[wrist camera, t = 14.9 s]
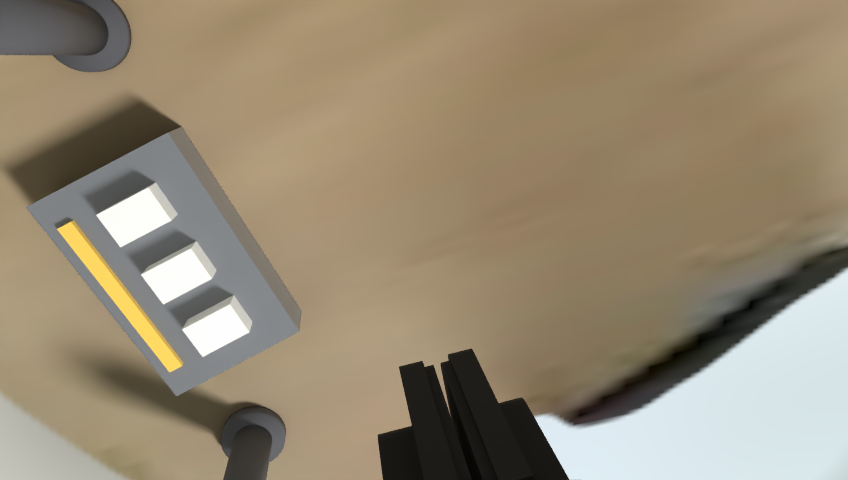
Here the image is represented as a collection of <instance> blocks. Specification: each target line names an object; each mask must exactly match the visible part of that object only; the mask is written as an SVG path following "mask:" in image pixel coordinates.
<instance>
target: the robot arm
mask: <svg viewBox="0 0 848 480" xmlns="http://www.w3.org/2000/svg"><path fill="white" fill-rule="evenodd" d="M448 359H449V361H447V362H443V363H441V370H442V375H443V380H444V385H445V390H446V395H447V400H448V405H449V410H450V413H449V410H448V407H447V404H446V401H445V398H444V395H443V392H442V389H441V386H440V383H439V380H438V377H437V374H436V371H435V368H434V366H433V365H431V366H427V367H424V364H423V361H420V362H416V363H412V364H408V365H404V366H400V367H399V369H400V374H401V378H402V383H403V387H404V392H405V396H406V401H407V405H408V410H409V414H410V419H411V423H412V426H410V427H406V428H402V429H398V430H394V431H391V432H387V433H383V434H379V435H378V443H379V451H380V459H381V467H382V475H383V480H569V478H568V477H567V475H566V473H565V471H564V469H563V468H562V466H561V464H560V463H559V461H558V459H557V457H556V455H555V453H554V452H553V450H552V448H551V446H550V445H549V443H548V441H547V439H546V437H545V436H544V434H543V432H542V430H541V429H540V427H539V425H538V423H537V421H536V420H535V418H534V416H533V414H532V413H531V411H530V409H529V407H528V405H527V404H526V402H525V401H524V399H523V398H517V399H513V400H509V401H506V402H502V403H498V401H497V399H496V397H495V395H494V393H493V391H492V389H491V387H490V385H489V383H488V381H487V379H486V376H485V374H484V372H483V370H482V368H481V366H480V364H479V362H478V360H477V358H476V356H475V354H474V352H473V350H472V349H468V350H464V351H460V352H456V353H452V354H448ZM450 415H451V416H450Z"/></svg>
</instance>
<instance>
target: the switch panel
mask: <svg viewBox="0 0 848 480" xmlns="http://www.w3.org/2000/svg"><path fill="white" fill-rule="evenodd" d="M26 208H27V209H28V211H29V212H30V213H31V214H32V216H33V217H34V218H35V219H36V221H37V222H38V223H39V224H40V226H41V227H42V228H43V229H44V231H45V232H46V233H47V234H48V236H49V237H50V238H51V240H52V241H53V242H54V243H55V245H56V246H57V247H58V248H59V250H60V251H61V252H62V253H63V255H64V256H65V257H66V258H67V260H68V261H69V262H70V263H71V265H72V266H73V267H74V268H75V270H76V271H77V272H78V273H79V275H80V276H81V277H82V278H83V280H84V281H85V282H86V283H87V285H88V286H89V287H90V288H91V290H92V291H93V292H94V294H95V295H96V296H97V297H98V299H99V300H100V301H101V302H102V304H103V305H104V306H105V307H106V309H107V310H108V311H109V312H110V314H111V315H112V316H113V317H114V319H115V320H116V321H117V322H118V324H119V325H120V326H121V327H122V329H123V330H124V331H125V332H126V334H127V335H128V336H129V337H130V339H131V340H132V341H133V342H134V344H135V345H136V346H137V348H138V349H139V350H140V351H141V353H142V354H143V355H144V356H145V358H146V359H147V360H148V361H149V363H150V364H151V365H152V366H153V368H154V369H155V370H156V371H157V373H158V374H159V375H160V376H161V378H162V379H163V380H164V381H165V383H166V384H167V385H168V386H169V388H170V389H171V390H172V391H173V393H174V394H175V395H176V396H178V395H180V394H182V393H184V392H186V391H188V390H190V389H192V388H193V387H195V386H197V385H199V384H201V383H203V382H205V381H207V380H209V379H210V378H212V377H214V376H216V375H218V374H220V373H222V372H224V371H226V370H227V369H229V368H231V367H233V366H235V365H237V364H239V363H241V362H243V361H244V360H246V359H248V358H250V357H252V356H254V355H256V354H258V353H260V352H261V351H263V350H265V349H267V348H269V347H271V346H273V345H275V344H277V343H278V342H280V341H282V340H284V339H286V338H288V337H290V336H292V335H294V334H295V333H297V332H299V329H300V320H301V309H300V308H299V306H298V305H297V303H296V302H295V300H294V299H293V297H292V295H291V294H290V292H289V291H288V289H287V288H286V286H285V285H284V283H283V282H282V280H281V279H280V277H279V275H278V274H277V272H276V271H275V269H274V268H273V266H272V265H271V263H270V262H269V260H268V258H267V257H266V255H265V254H264V252H263V251H262V249H261V248H260V246H259V245H258V243H257V242H256V240H255V238H254V237H253V235H252V234H251V232H250V231H249V229H248V228H247V226H246V225H245V223H244V222H243V220H242V218H241V217H240V215H239V214H238V212H237V211H236V209H235V208H234V206H233V205H232V203H231V201H230V200H229V198H228V197H227V195H226V194H225V192H224V191H223V189H222V188H221V186H220V185H219V183H218V181H217V180H216V178H215V177H214V175H213V174H212V172H211V171H210V169H209V168H208V166H207V165H206V163H205V161H204V160H203V158H202V157H201V155H200V154H199V152H198V151H197V149H196V148H195V146H194V144H193V143H192V141H191V140H190V138H189V137H188V135H187V134H186V132H185V131H184V129H183V128H182V127H180V128H178V129H175V130H173V131H170V132H168V133H166V134H164V135H162V136H160V137H158V138H156V139H154V140H153V141H151V142H149V143H147V144H145V145H143V146H141V147H139V148H137V149H135V150H134V151H132V152H130V153H128V154H126V155H124V156H122V157H120V158H118V159H116V160H115V161H113V162H111V163H109V164H107V165H105V166H103V167H101V168H99V169H97V170H96V171H94V172H92V173H90V174H88V175H86V176H84V177H82V178H80V179H78V180H77V181H75V182H73V183H71V184H69V185H67V186H65V187H63V188H61V189H59V190H58V191H56V192H54V193H52V194H50V195H48V196H46V197H44V198H42V199H40V200H39V201H37V202H35V203H33V204H31V205H29V206H27V207H26Z"/></svg>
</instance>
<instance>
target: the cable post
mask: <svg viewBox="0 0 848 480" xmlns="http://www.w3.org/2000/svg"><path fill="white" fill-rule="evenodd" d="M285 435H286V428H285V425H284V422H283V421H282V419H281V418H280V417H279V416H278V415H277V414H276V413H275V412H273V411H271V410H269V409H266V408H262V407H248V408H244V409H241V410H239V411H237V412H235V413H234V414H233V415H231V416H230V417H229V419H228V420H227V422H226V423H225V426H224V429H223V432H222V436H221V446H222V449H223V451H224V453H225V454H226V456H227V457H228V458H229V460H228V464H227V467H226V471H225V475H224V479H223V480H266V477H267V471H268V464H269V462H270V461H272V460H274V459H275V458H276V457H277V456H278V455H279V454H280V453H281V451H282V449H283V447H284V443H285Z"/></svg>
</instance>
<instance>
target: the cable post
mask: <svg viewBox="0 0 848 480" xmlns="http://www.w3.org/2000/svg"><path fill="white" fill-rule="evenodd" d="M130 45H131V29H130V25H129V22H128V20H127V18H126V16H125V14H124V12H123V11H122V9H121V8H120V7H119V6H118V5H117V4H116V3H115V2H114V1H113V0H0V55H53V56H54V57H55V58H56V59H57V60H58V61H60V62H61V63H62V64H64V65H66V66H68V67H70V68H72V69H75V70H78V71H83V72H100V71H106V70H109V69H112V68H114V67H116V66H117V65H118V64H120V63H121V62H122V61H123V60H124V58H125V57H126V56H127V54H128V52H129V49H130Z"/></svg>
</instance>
